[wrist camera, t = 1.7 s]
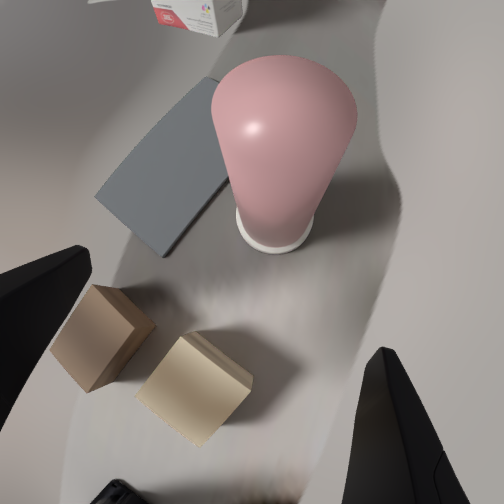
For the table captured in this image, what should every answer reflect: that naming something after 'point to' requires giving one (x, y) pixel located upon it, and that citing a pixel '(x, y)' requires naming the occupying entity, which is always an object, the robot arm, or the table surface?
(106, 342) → the walnut block
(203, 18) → the ink cartridge box
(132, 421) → the table surface
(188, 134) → the slate mat
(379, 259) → the table surface
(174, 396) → the birch block
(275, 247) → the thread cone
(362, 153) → the table surface
